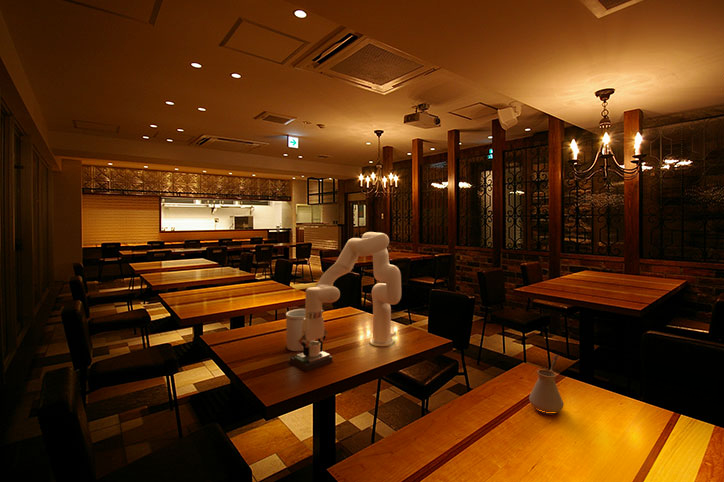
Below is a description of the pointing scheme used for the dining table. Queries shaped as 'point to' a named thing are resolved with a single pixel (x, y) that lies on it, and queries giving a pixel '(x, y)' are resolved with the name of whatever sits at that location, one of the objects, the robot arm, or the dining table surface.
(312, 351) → the bowl
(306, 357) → the scale pan
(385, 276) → the robot arm
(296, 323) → the utensil holder
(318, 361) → the scale
